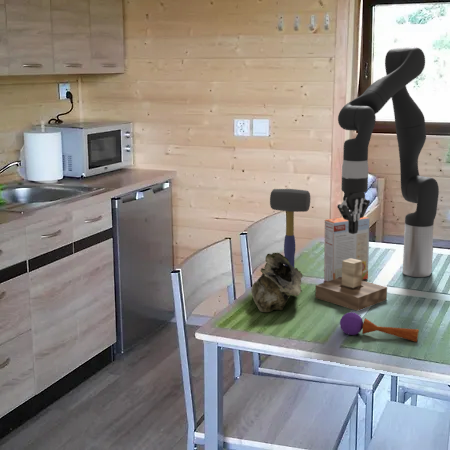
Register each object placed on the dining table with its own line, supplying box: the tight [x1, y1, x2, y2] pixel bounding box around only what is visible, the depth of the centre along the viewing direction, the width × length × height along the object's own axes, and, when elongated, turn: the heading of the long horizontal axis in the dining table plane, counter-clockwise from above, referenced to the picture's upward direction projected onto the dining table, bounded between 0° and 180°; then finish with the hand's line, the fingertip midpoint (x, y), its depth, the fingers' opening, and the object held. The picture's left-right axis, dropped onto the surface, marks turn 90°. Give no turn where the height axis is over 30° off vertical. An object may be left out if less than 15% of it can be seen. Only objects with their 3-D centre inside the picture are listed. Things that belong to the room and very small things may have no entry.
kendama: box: [339, 311, 419, 343], centre depth 182 cm, size 6×6×20 cm
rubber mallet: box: [269, 188, 311, 268], centre depth 231 cm, size 12×8×30 cm, turn 70°
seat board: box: [315, 277, 388, 312], centre depth 212 cm, size 14×16×4 cm
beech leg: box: [341, 258, 363, 290], centre depth 211 cm, size 4×4×12 cm
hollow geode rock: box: [251, 252, 303, 313], centre depth 212 cm, size 28×13×15 cm
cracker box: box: [323, 215, 370, 282], centre depth 228 cm, size 14×6×21 cm, turn 115°
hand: (353, 233), depth 208 cm, fingers closed
